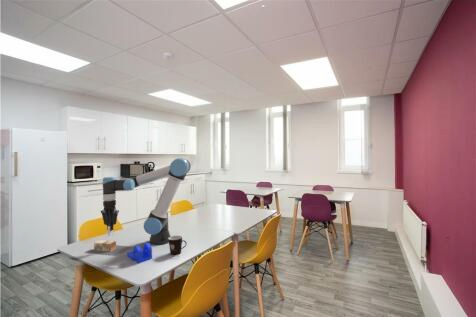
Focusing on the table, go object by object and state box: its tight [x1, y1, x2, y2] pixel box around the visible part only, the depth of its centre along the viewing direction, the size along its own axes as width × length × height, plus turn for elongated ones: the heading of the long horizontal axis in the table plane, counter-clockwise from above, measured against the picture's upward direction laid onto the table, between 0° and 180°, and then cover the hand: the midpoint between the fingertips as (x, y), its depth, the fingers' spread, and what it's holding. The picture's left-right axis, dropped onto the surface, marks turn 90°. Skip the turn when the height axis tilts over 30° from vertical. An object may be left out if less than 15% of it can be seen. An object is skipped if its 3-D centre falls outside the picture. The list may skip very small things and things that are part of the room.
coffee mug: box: [168, 235, 188, 256], centre depth 149 cm, size 12×9×10 cm
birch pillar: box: [93, 239, 117, 251], centre depth 159 cm, size 5×5×13 cm
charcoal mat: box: [86, 244, 133, 257], centre depth 158 cm, size 24×16×1 cm, turn 76°
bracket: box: [126, 242, 153, 264], centre depth 146 cm, size 18×8×9 cm, turn 49°
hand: (110, 235), depth 158 cm, fingers closed
